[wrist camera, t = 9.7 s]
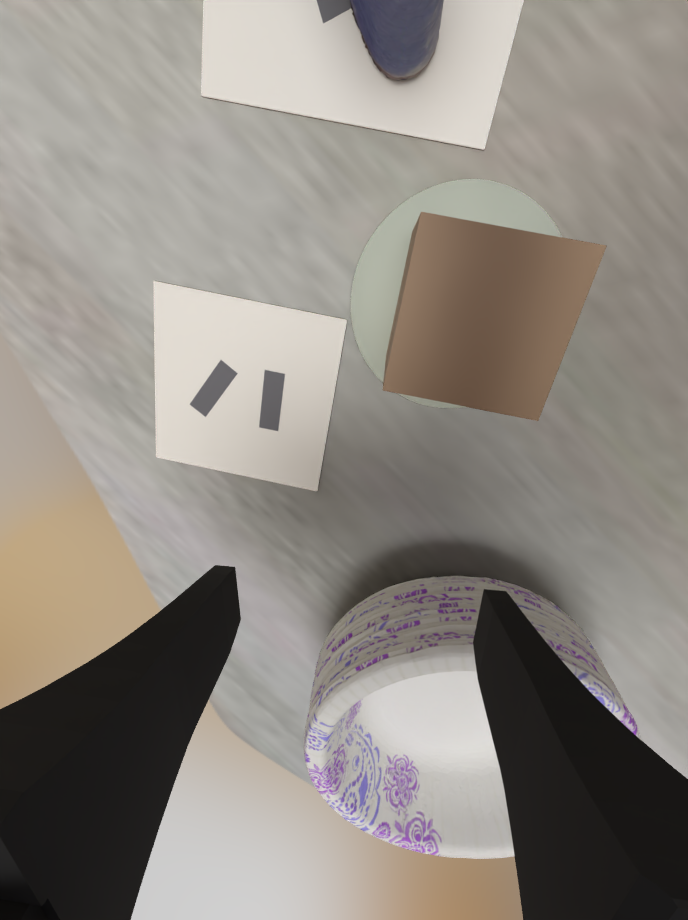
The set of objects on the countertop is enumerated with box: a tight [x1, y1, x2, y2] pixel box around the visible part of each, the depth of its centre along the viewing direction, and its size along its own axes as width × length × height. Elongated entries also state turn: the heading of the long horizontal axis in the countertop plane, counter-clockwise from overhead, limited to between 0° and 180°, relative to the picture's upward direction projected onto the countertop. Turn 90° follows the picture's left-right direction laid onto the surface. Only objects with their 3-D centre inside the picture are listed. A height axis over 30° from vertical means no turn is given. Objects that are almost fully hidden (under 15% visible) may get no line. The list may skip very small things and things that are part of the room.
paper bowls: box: [304, 576, 642, 859], centre depth 23 cm, size 15×15×8 cm
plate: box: [351, 179, 562, 408], centre depth 18 cm, size 9×9×1 cm
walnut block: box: [383, 212, 606, 421], centre depth 15 cm, size 5×5×6 cm
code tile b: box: [154, 281, 347, 491], centre depth 21 cm, size 9×9×1 cm
